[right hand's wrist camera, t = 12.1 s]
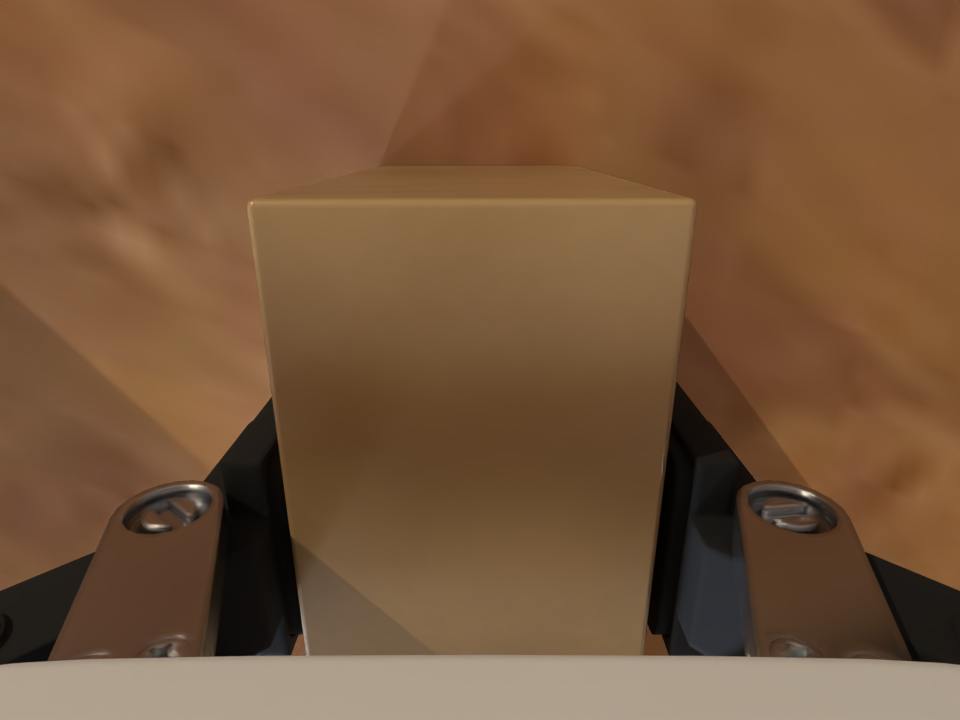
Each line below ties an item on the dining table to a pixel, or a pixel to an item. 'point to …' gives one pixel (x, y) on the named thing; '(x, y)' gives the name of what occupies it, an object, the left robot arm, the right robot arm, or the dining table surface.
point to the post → (473, 403)
